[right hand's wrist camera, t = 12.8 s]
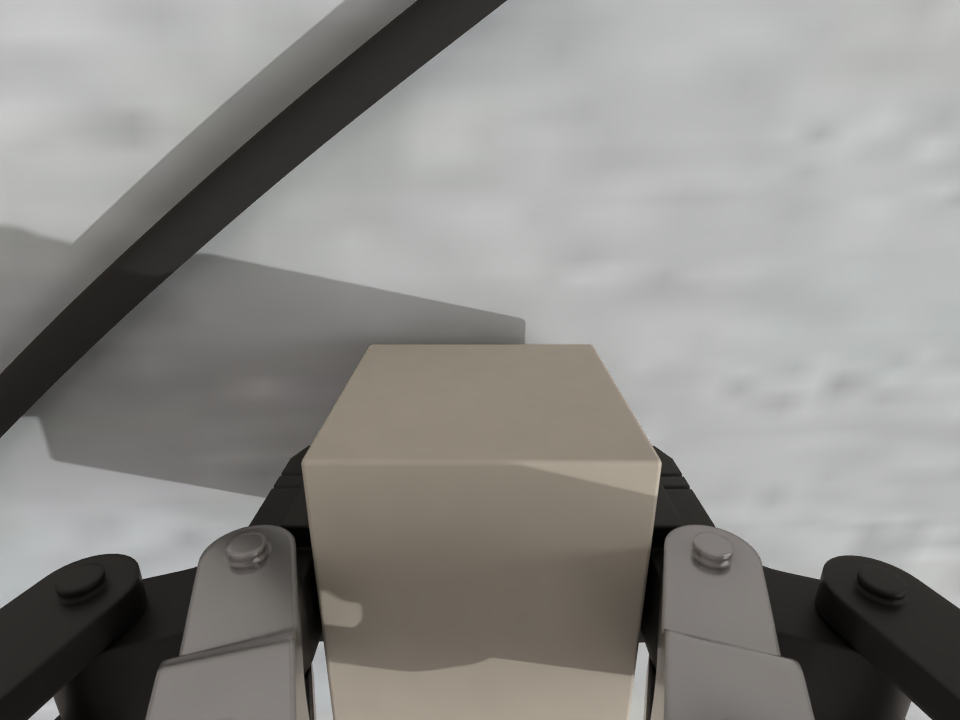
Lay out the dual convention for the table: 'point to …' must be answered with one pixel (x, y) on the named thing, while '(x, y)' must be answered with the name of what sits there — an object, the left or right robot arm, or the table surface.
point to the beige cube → (481, 535)
